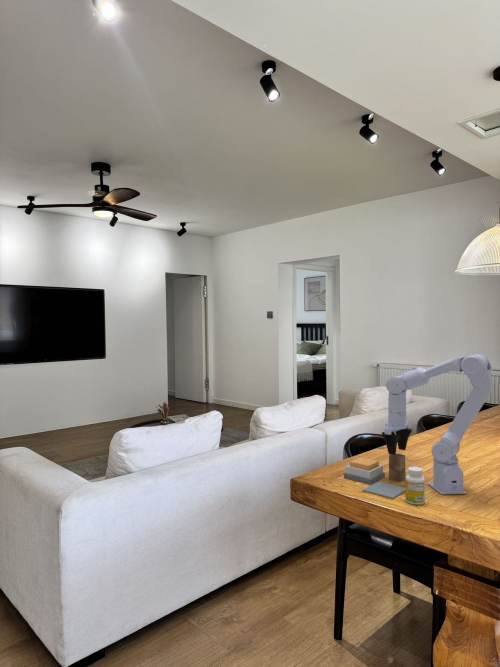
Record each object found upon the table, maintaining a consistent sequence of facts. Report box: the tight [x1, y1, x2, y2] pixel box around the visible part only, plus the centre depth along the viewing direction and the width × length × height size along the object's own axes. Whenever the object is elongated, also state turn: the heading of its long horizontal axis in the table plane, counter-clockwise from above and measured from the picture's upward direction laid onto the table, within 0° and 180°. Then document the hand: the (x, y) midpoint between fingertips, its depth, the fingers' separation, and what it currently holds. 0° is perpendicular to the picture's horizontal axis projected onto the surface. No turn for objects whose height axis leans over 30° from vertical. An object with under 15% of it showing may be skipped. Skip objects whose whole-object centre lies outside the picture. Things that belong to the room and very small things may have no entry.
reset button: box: [349, 456, 380, 471], centre depth 158 cm, size 7×7×2 cm
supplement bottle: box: [405, 466, 426, 506], centre depth 137 cm, size 5×5×10 cm
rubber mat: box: [362, 481, 406, 500], centre depth 146 cm, size 10×10×1 cm
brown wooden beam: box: [388, 452, 406, 483], centre depth 157 cm, size 4×4×8 cm
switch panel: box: [343, 463, 386, 486], centre depth 159 cm, size 10×10×4 cm
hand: (397, 452), depth 157 cm, fingers open, 7 cm apart
